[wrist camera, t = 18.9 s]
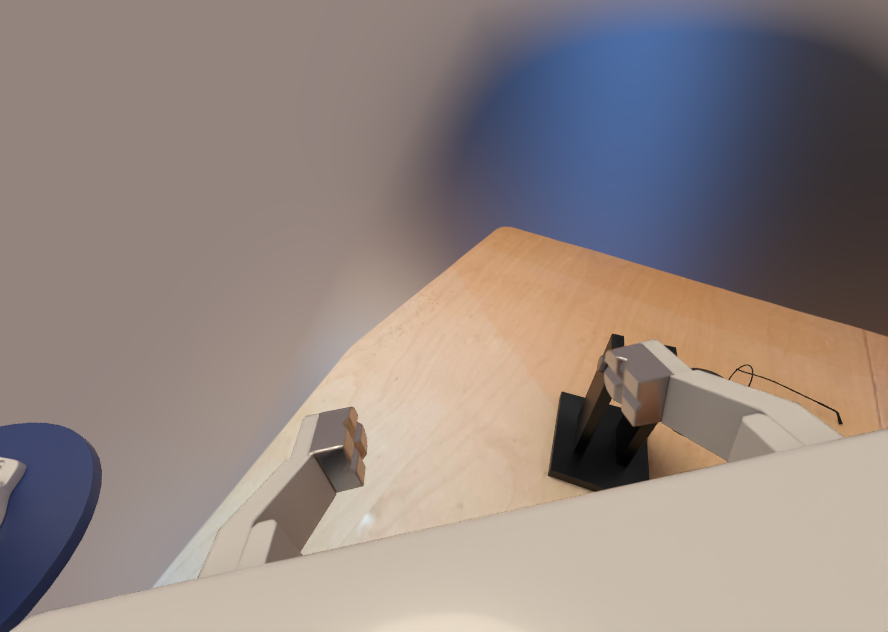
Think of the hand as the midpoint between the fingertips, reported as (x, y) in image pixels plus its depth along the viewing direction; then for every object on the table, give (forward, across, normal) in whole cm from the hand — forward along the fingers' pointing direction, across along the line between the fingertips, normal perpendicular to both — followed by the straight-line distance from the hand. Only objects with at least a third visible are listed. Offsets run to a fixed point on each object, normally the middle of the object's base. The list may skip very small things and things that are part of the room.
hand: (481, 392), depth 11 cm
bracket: (+15, -12, +26) cm, 32 cm away
